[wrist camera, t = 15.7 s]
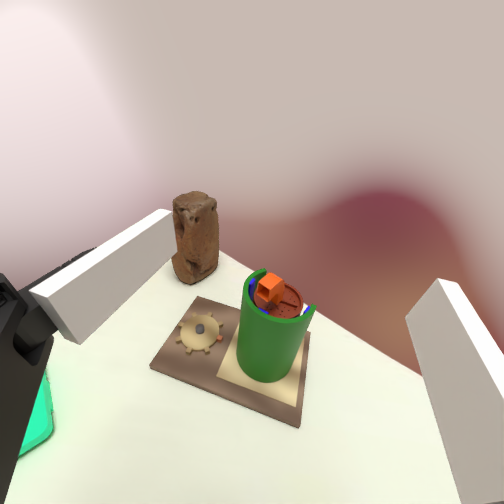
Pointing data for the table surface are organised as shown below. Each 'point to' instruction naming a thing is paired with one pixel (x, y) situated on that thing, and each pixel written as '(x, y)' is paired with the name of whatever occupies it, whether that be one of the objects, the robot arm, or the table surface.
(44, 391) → the camera mount
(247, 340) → the motor
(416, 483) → the table surface
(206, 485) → the table surface
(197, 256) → the block
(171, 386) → the table surface
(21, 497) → the table surface
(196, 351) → the mounting board
